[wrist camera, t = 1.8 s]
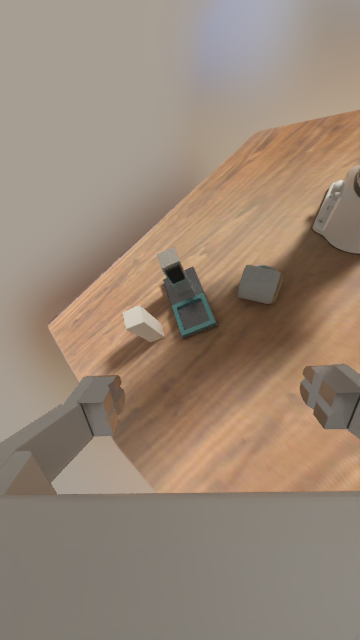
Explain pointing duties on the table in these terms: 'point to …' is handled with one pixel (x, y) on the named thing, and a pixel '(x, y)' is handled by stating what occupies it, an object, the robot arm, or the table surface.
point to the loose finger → (143, 324)
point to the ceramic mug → (260, 284)
